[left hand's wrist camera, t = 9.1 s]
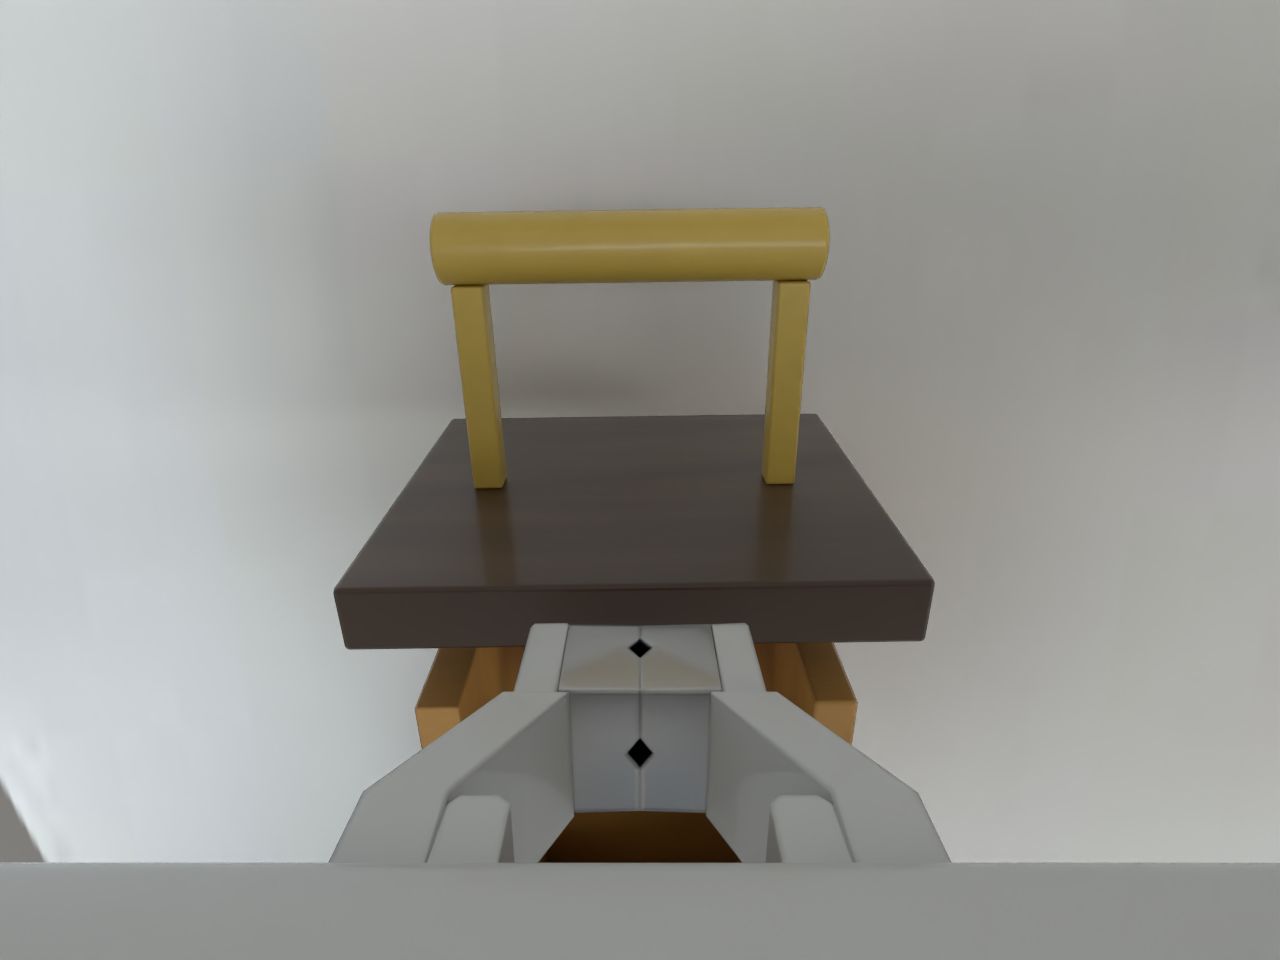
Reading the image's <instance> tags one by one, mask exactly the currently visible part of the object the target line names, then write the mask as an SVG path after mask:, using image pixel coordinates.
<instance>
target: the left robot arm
mask: <svg viewBox="0 0 1280 960" xmlns="http://www.w3.org/2000/svg"><path fill="white" fill-rule="evenodd" d="M619 811H660V812H696V813H706V816H707V818H708V819H709V820H710V822H711V823H712V824H713V825H714V827H715V828H716V829H717V831H718V832H719V833H720V834H721V836H722V837H723V838H724V840H725V841H726V842H727V843H728V845H729V846H730V847H731V849H732V850H733V851H734V852H735V854H736V855H737V856H738V858H739V859H740V860H741V861H742V863H538V862H539V861H540V859H541V858H542V857H543V856H544V854H545V853H546V852H547V850H548V849H549V848H550V847H551V845H552V844H553V843H554V842H555V840H556V839H557V838H558V836H559V835H560V834H561V833H562V831H563V830H564V829H565V827H566V826H567V825H568V824H569V822H570V821H571V820H572V819H573V817H574V813H584V812H619ZM0 960H1280V863H952V862H951V860H950V858H949V856H948V854H947V852H946V850H945V848H944V846H943V844H942V842H941V840H940V838H939V835H938V833H937V831H936V829H935V827H934V825H933V823H932V821H931V819H930V817H929V815H928V813H927V811H926V809H925V806H924V804H923V802H922V800H921V798H920V796H919V794H918V793H917V792H916V791H915V790H913V789H912V788H910V787H909V786H908V785H906V784H905V783H903V782H902V781H901V780H899V779H898V778H896V777H895V776H894V775H892V774H891V773H889V772H888V771H887V770H885V769H884V768H883V767H881V766H880V765H878V764H877V763H876V762H874V761H873V760H871V759H870V758H869V757H867V756H866V755H864V754H863V753H862V752H860V751H859V750H857V749H856V748H855V747H853V746H852V745H850V744H849V743H848V742H846V741H845V740H844V739H842V738H841V737H839V736H838V735H837V734H835V733H834V732H832V731H831V730H830V729H828V728H827V727H825V726H824V725H823V724H821V723H820V722H818V721H817V720H816V719H814V718H813V717H811V716H810V715H809V714H807V713H806V712H804V711H803V710H802V709H800V708H799V707H798V706H796V705H795V704H793V703H792V702H791V701H789V700H788V699H786V698H785V697H784V696H782V695H781V694H779V693H778V692H766V688H765V684H764V681H763V677H762V673H761V670H760V666H759V662H758V659H757V655H756V651H755V648H754V644H753V640H752V637H751V633H750V629H749V626H748V625H747V624H746V623H727V624H691V625H651V626H640V625H616V624H570V625H569V624H568V623H541V624H534V625H533V626H532V627H531V628H530V632H529V636H528V639H527V643H526V647H525V651H524V654H523V658H522V662H521V665H520V669H519V673H518V677H517V680H516V684H515V688H514V692H502V693H501V694H499V695H498V696H496V697H495V698H494V699H492V700H491V701H489V702H488V703H487V704H485V705H484V706H482V707H481V708H480V709H478V710H477V711H475V712H474V713H473V714H471V715H470V716H468V717H467V718H466V719H464V720H463V721H461V722H460V723H459V724H457V725H456V726H454V727H453V728H452V729H450V730H449V731H447V732H446V733H445V734H443V735H442V736H440V737H439V738H438V739H436V740H435V741H433V742H432V743H431V744H429V745H428V746H426V747H425V748H424V749H422V750H421V751H419V752H418V753H417V754H415V755H414V756H412V757H411V758H410V759H408V760H407V761H405V762H404V763H403V764H401V765H400V766H398V767H397V768H396V769H394V770H393V771H391V772H390V773H389V774H387V775H386V776H384V777H383V778H382V779H380V780H379V781H377V782H376V783H375V784H373V785H372V786H370V787H369V788H368V789H366V790H365V791H363V793H362V795H361V797H360V799H359V801H358V803H357V805H356V807H355V809H354V811H353V813H352V815H351V817H350V819H349V821H348V823H347V826H346V828H345V830H344V832H343V834H342V836H341V838H340V840H339V842H338V844H337V846H336V848H335V850H334V852H333V854H332V856H331V858H330V860H329V862H328V863H0Z"/></svg>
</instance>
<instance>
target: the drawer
mask: <svg viewBox="0 0 1280 960" xmlns="http://www.w3.org/2000/svg"><path fill="white" fill-rule="evenodd" d="M430 251H431V258H432V263H433V267H434V271H435V273H436V276H437V278H438V280H439V282H440V283H442V284H444V285H455V286H453V287H452V288H451V296H452V304H453V312H454V321H455V329H456V338H457V346H458V355H459V363H460V372H461V380H462V389H463V397H464V406H465V414H466V419H453V420H452V421H451V422H450V423H449V425H448V426H447V428H446V429H445V431H444V432H443V434H442V435H441V436H440V438H439V439H438V441H437V442H436V444H435V445H434V446H433V448H432V449H431V451H430V452H429V454H428V455H427V456H426V458H425V459H424V461H423V462H422V464H421V465H420V466H419V468H418V469H417V471H416V472H415V474H414V475H413V477H412V478H411V479H410V481H409V482H408V484H407V485H406V487H405V488H404V489H403V491H402V492H401V494H400V495H399V497H398V498H397V499H396V501H395V502H394V504H393V505H392V507H391V508H390V509H389V511H388V512H387V514H386V515H385V517H384V518H383V520H382V521H381V522H380V524H379V525H378V527H377V528H376V530H375V531H374V532H373V534H372V535H371V537H370V538H369V540H368V541H367V542H366V544H365V545H364V547H363V548H362V550H361V551H360V552H359V554H358V555H357V557H356V558H355V560H354V561H353V562H352V564H351V565H350V567H349V568H348V570H347V571H346V573H345V574H344V575H343V577H342V578H341V580H340V581H339V583H338V584H337V585H336V587H335V588H334V598H335V603H336V607H337V612H338V616H339V621H340V625H341V630H342V634H343V639H344V643H345V647H346V648H347V649H412V648H439V649H438V652H437V654H436V657H435V659H434V662H433V664H432V667H431V669H430V672H429V674H428V677H427V679H426V682H425V684H424V687H423V689H422V692H421V694H420V697H419V699H418V702H417V704H416V707H415V713H416V719H417V724H418V730H419V735H420V741H421V747H422V749H424V748H425V747H426V746H428V745H429V744H431V743H432V742H433V741H435V740H436V739H438V738H439V737H440V736H442V735H443V734H445V733H446V732H447V731H449V730H450V729H452V728H453V727H454V726H456V725H457V724H459V723H460V722H461V721H463V720H464V719H466V718H467V717H468V716H470V715H471V714H473V713H474V712H475V711H477V710H478V709H480V708H481V707H482V706H484V705H485V704H487V703H488V702H489V701H491V700H492V699H494V698H495V697H496V696H498V695H499V694H501V693H502V692H514V688H515V684H516V680H517V677H518V673H519V669H520V665H521V662H522V658H523V654H524V651H525V647H526V643H527V639H528V636H529V632H530V628H531V627H532V626H533V625H534V624H541V623H568V624H569V625H570V624H616V625H640V626H651V625H691V624H727V623H746V624H747V625H748V626H749V629H750V633H751V637H752V640H753V644H754V648H755V651H756V655H757V659H758V662H759V666H760V670H761V673H762V677H763V681H764V684H765V688H766V692H778V693H779V694H781V695H782V696H784V697H785V698H786V699H788V700H789V701H791V702H792V703H793V704H795V705H796V706H798V707H799V708H800V709H802V710H803V711H804V712H806V713H807V714H809V715H810V716H811V717H813V718H814V719H816V720H817V721H818V722H820V723H821V724H823V725H824V726H825V727H827V728H828V729H830V730H831V731H832V732H834V733H835V734H837V735H838V736H839V737H841V738H842V739H844V740H845V741H846V742H848V743H849V744H850V745H852V740H853V733H854V725H855V718H856V711H857V704H858V702H857V700H856V697H855V695H854V692H853V690H852V687H851V685H850V682H849V680H848V677H847V675H846V673H845V670H844V668H843V665H842V663H841V660H840V658H839V655H838V653H837V650H836V648H835V646H834V643H833V642H897V641H922V640H924V639H925V635H926V629H927V624H928V618H929V613H930V607H931V602H932V596H933V591H934V584H935V583H934V580H933V578H932V577H931V575H930V574H929V573H928V571H927V570H926V568H925V567H924V566H923V564H922V563H921V561H920V560H919V558H918V557H917V556H916V554H915V553H914V551H913V550H912V549H911V547H910V546H909V544H908V543H907V541H906V540H905V539H904V537H903V536H902V534H901V533H900V532H899V530H898V529H897V527H896V526H895V524H894V523H893V522H892V520H891V519H890V517H889V516H888V515H887V513H886V512H885V510H884V509H883V507H882V506H881V505H880V503H879V502H878V500H877V499H876V497H875V496H874V495H873V493H872V492H871V490H870V489H869V488H868V486H867V485H866V483H865V482H864V480H863V479H862V478H861V476H860V475H859V473H858V472H857V471H856V469H855V468H854V466H853V465H852V463H851V462H850V461H849V459H848V458H847V456H846V455H845V454H844V452H843V451H842V449H841V448H840V446H839V445H838V444H837V442H836V441H835V439H834V438H833V437H832V435H831V434H830V432H829V431H828V429H827V428H826V427H825V425H824V424H823V422H822V421H821V420H820V418H819V417H818V415H816V414H800V407H801V395H802V383H803V370H804V358H805V346H806V333H807V321H808V309H809V297H810V282H808V281H807V280H816V279H818V278H820V277H821V276H822V274H823V272H824V269H825V266H826V263H827V258H828V251H829V222H828V217H827V213H826V211H825V210H824V209H823V208H821V207H797V208H728V209H659V210H590V211H521V212H452V213H437V214H435V215H434V216H433V218H432V222H431V227H430ZM764 280H774V281H773V293H772V309H771V326H770V342H769V359H768V375H767V392H766V408H765V415H698V416H629V417H559V418H501V410H500V399H499V389H498V379H497V368H496V358H495V348H494V337H493V327H492V317H491V306H490V296H489V286H488V284H557V283H626V282H695V281H764ZM538 863H742V861H741V860H740V859H739V858H738V856H737V855H736V854H735V852H734V851H733V850H732V849H731V847H730V846H729V845H728V843H727V842H726V841H725V840H724V838H723V837H722V836H721V834H720V833H719V832H718V831H717V829H716V828H715V827H714V825H713V824H712V823H711V822H710V820H709V819H708V818H707V816H706V813H696V812H660V811H619V812H584V813H574V817H573V819H572V820H571V821H570V822H569V824H568V825H567V826H566V827H565V829H564V830H563V831H562V833H561V834H560V835H559V836H558V838H557V839H556V840H555V842H554V843H553V844H552V845H551V847H550V848H549V849H548V850H547V852H546V853H545V854H544V856H543V857H542V858H541V859H540V861H539V862H538Z"/></svg>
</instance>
